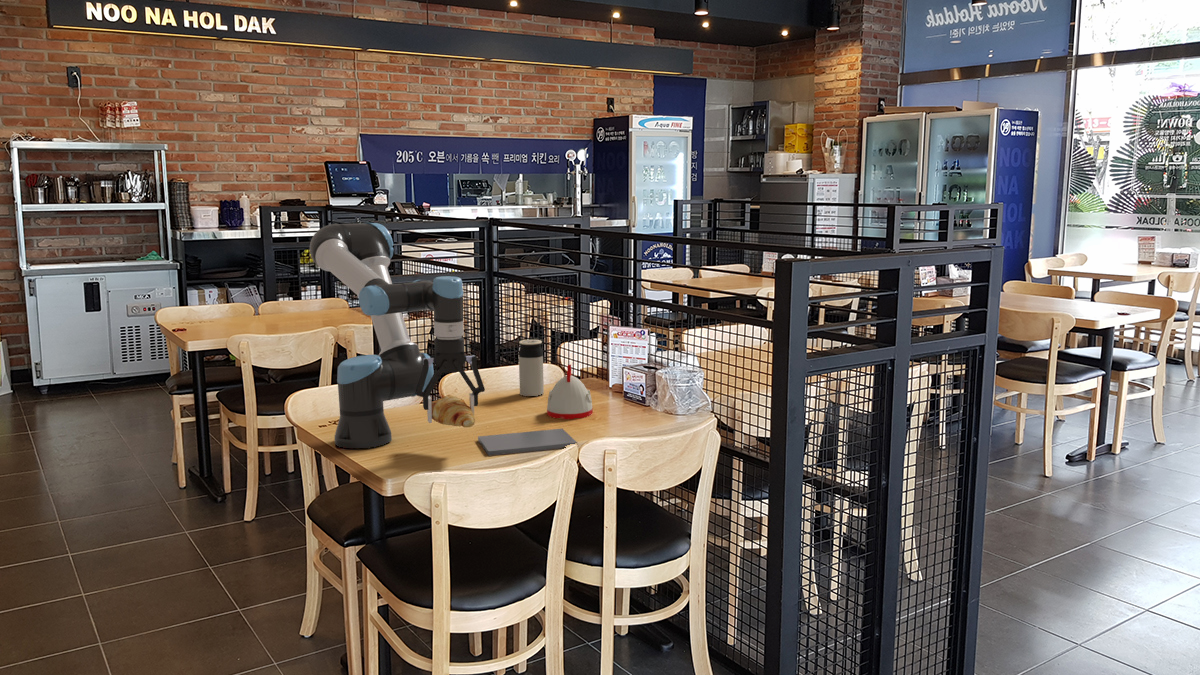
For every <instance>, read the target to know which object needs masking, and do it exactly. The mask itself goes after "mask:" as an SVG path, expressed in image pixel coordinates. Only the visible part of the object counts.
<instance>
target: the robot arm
mask: <svg viewBox="0 0 1200 675" xmlns="http://www.w3.org/2000/svg"><path fill="white" fill-rule="evenodd" d="M393 246H394V241H393V238H392V235H391V233H390V232H389V229H387V228H386V226H385V225H383V224H380V223H377V222H369V221H368V222H362V223H361V222H360V223H340V224H339V223H334V224H333V223H332V224H328V225H324V226H323V227H321V228H320V229H318V230H317V231H316V232H315V233H314V234H313V236H312V238H311V240H310V244H309V254H310V257H311V259H312V262H314V263H315V265H316V266H318V267H319V268H320V269H321V270H322V271H325V272H331V274H332V275H334V276H335V277H336V278H337V279H338V280H339V281H341V283H343V284H344V285H345V286H346V287H347V288H348V289H350V290H351V291H352V292H353V293H354V294H355V295H357V296H358V304H359V307H360V308H361V311H362V313H363V314H364V315H366V316H370V318H371V321H372V325H373V328H374V331H375V335H376V338H377V342H378V344H379V347H380V352H379V354H366V355H357V356H353V357H350V358H347V359H345V360H343V361H341V362H340V363H339V365H338V366H337V374H336V375H337V379H336V382H337V389H338V390H337V391H338V402H339V403H338V404H339V419H338V421H337V422H338V423H337V425H336V426H337V427H336V429H335V433H334V445H335V444H336V445H337V446H340V447H345V448H368V449H370V448H369V447H374V448H377V447H376V446H379V445H383V446H385V445H387V444H386V443H388V442H389V443H391V442H392V440H393V439H392V436H393V435H392V431H391V428H390V425H389V423H388V422H389V421H387V417H386V415H385V411H384V410H385V409H384V402H387V401H393V400H398V399H404V398H410V397H411V398H414V397H421V398H422V407H423V410H425V411H427V422H428V423H429V424H431V423H433V419H432V406H431V402H432V397H431V392H432V391H433V389H435V387H436V384H437V383H438V381H439V379H440V377H441V376H443V373H444V374H449V373H454V374H455V373H457V372H458V373H459V374H460V375H461V378H463V380H464V381H465V383H466V384H467V386H468V388H469V389H470V391H471V393H470V392H469V407H470V408H471V410H472V411H473V413H474V414H475V407H478V406H479V395H480V394H481V393H483V392H485V390H486V388H485V386H484V383H483V380H482V377H481V374H480V372H479V368H478V366H477V360H478V359H477V357H476V355H475V354H471V355H466V354H465V339H464V337H463V336H464V334H465V333H464V332H465V331H464V327H465V326H464V289H463V280H462V278H461V277H458V276H449V275H448V276H447V275H445V276H437V277H434V278H433V281H431V280H428V279H416V280H413V281H412V282H404V283H403V282H402V283H400V282H399V283H393V281H392V278H391V276H390V272H389V270H388V267H389V266H390V264H391V260H392V257H393V255H394V247H393ZM417 311H418V312H419V311H431V312H433V332H434V333H433V334H434V335H433V336H434V337H435V338H434V356H433V357H431V356H430V355H429V354H428V353H426V352H421V351H420V349H419V346H418V344H417V343H415V342H413V341H412V340H411V338H410V335H409V331H408V329H407V325H406V321H405V319H404V315H403V313H409V312H417ZM466 361H467V363H468V364H469V365H470V367H471V371H472V372H473V376H474V379H475V381H476V384H477V387H475V385H474V383H473V382H472V381H471V379H470V378H469V377H470V376H468V375H467V373H466V371H465V370H464V368H463V366H464V364H465V363H466ZM433 363H434V364H435V365H436V368H435V370H434V364H433ZM390 441H391V442H390ZM389 443H388V444H389ZM384 444H385V445H384ZM336 445H335V446H336ZM337 446H336V447H337ZM340 447H339V448H340ZM379 447H380V446H379Z"/></svg>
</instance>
